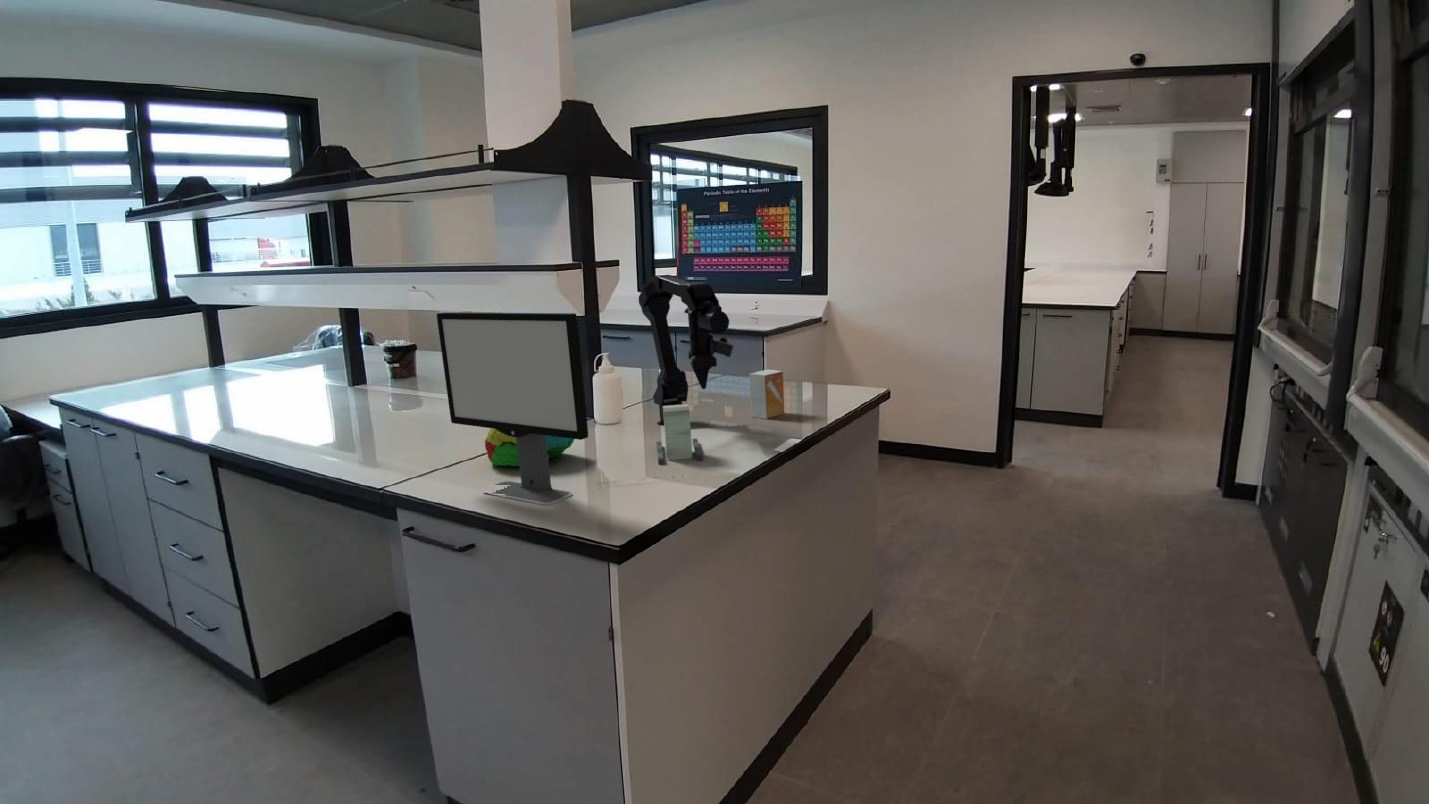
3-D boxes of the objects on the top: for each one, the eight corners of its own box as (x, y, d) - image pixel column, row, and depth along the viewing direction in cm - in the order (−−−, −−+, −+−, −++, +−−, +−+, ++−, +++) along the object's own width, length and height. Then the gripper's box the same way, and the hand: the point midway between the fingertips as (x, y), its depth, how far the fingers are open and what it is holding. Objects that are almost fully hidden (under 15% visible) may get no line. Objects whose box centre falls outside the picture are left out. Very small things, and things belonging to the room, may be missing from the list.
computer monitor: (451, 487, 181) (427, 314, 172) (480, 476, 188) (458, 310, 179) (582, 513, 158) (561, 315, 150) (609, 500, 165) (591, 310, 157)
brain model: (592, 449, 204) (584, 393, 201) (557, 472, 186) (548, 411, 183) (514, 452, 211) (505, 398, 208) (473, 473, 194) (462, 415, 191)
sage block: (666, 453, 192) (662, 406, 190) (690, 451, 193) (687, 404, 190) (667, 460, 186) (663, 411, 184) (692, 458, 187) (689, 409, 184)
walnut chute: (654, 452, 199) (653, 442, 199) (700, 448, 200) (700, 438, 200) (655, 470, 184) (654, 459, 183) (706, 466, 185) (705, 455, 184)
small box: (766, 419, 226) (764, 375, 223) (750, 416, 231) (748, 373, 228) (785, 413, 232) (783, 370, 229) (769, 411, 236) (767, 368, 233)
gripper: (734, 332, 198) (737, 393, 201) (726, 324, 216) (729, 380, 219) (690, 336, 197) (694, 396, 200) (686, 327, 215) (690, 383, 219)
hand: (703, 388), depth 210 cm, fingers closed
